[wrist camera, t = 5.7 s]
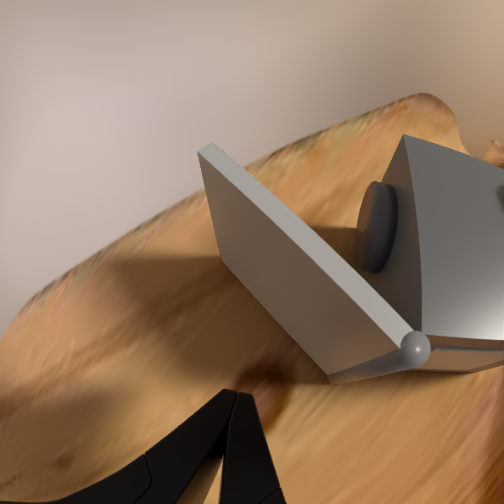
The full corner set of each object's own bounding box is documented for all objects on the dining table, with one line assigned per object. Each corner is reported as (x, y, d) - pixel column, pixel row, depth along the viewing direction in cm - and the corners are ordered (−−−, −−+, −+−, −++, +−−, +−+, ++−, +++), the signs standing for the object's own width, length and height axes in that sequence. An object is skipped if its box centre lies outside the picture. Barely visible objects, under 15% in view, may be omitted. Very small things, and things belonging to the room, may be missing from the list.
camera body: (475, 373, 13) (583, 338, 6) (334, 366, 14) (413, 328, 7) (470, 250, 17) (544, 175, 9) (346, 225, 18) (393, 115, 10)
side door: (353, 371, 14) (442, 338, 6) (335, 388, 13) (416, 374, 6) (237, 249, 17) (224, 135, 9) (219, 262, 16) (193, 153, 9)
